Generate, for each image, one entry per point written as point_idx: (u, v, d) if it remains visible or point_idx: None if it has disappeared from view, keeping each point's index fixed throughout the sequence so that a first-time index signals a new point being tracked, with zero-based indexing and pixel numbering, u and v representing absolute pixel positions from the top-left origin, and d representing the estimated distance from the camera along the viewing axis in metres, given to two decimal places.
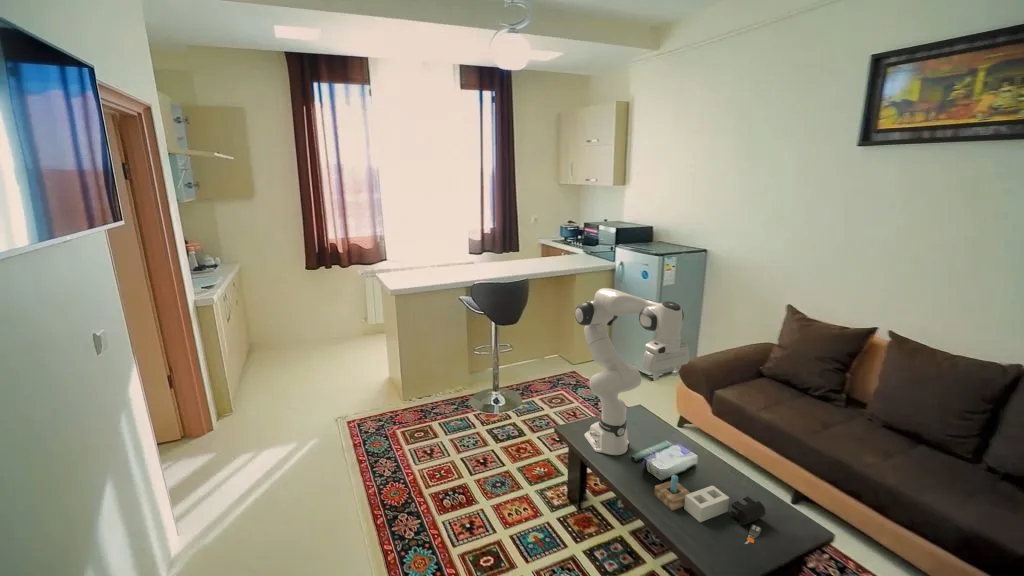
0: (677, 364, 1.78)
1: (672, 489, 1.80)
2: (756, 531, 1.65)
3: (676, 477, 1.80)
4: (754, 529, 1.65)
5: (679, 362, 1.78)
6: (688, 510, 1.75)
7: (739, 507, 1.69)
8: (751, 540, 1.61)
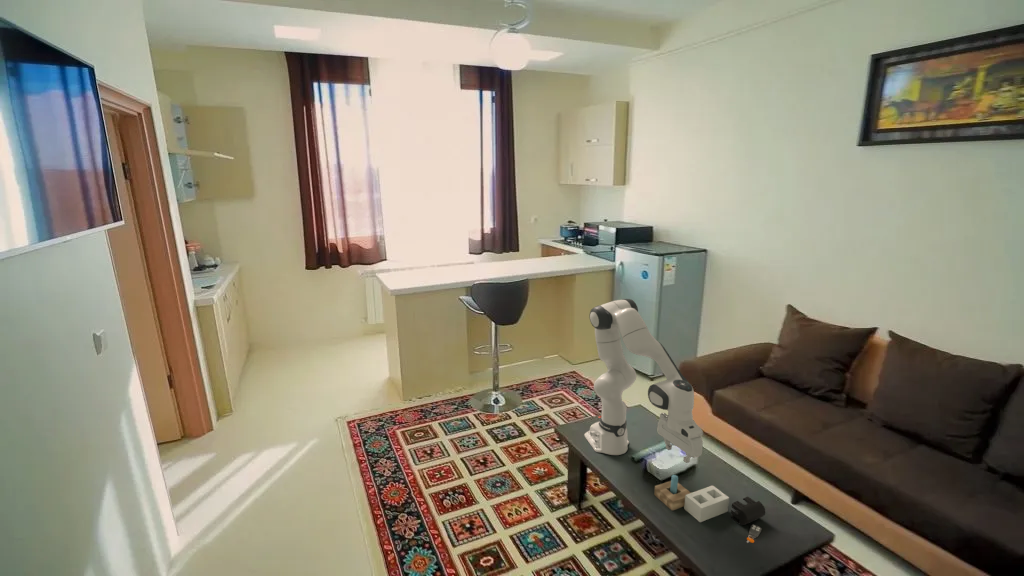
0: None
1: (672, 489, 1.80)
2: (756, 531, 1.65)
3: (676, 477, 1.80)
4: (754, 529, 1.66)
5: None
6: (688, 510, 1.75)
7: (739, 507, 1.69)
8: (751, 540, 1.61)
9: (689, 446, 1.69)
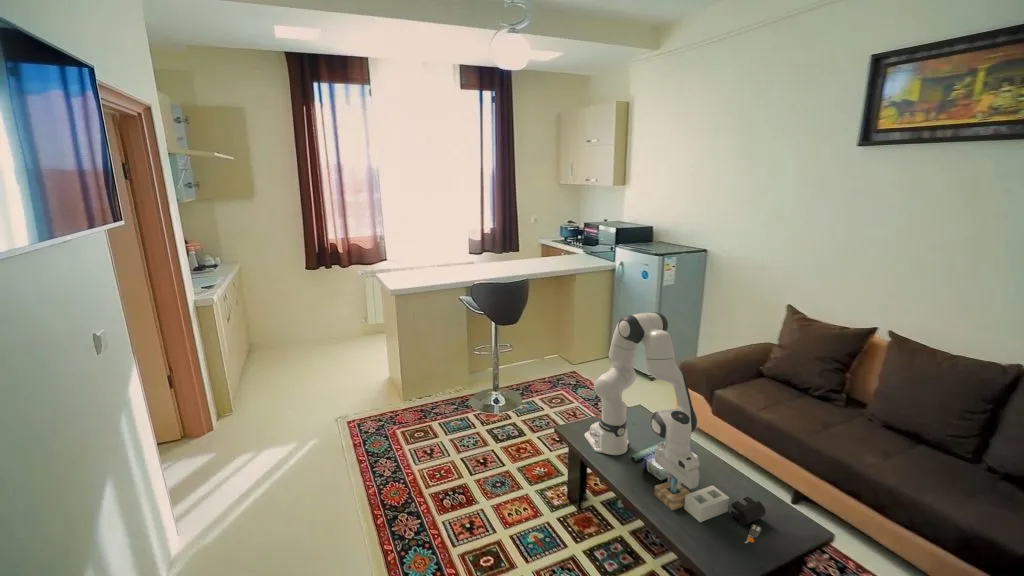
0: None
1: (672, 489, 1.80)
2: (756, 531, 1.65)
3: None
4: (754, 529, 1.66)
5: None
6: (688, 510, 1.75)
7: (739, 507, 1.69)
8: (751, 540, 1.61)
9: (686, 477, 1.72)
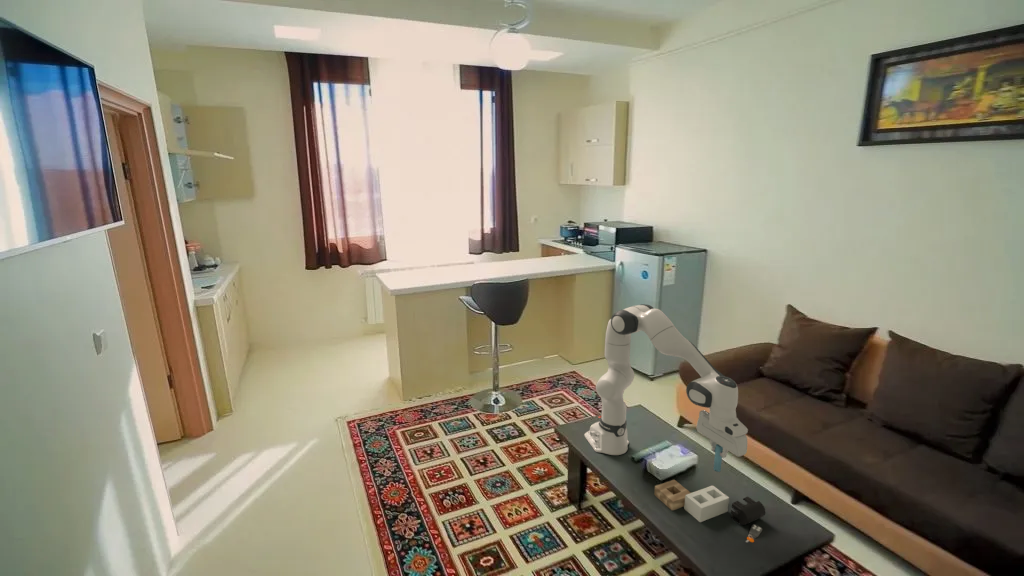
0: None
1: (717, 459, 1.72)
2: (757, 531, 1.65)
3: None
4: (755, 529, 1.66)
5: None
6: (688, 510, 1.75)
7: (739, 507, 1.69)
8: (751, 539, 1.62)
9: (733, 444, 1.63)
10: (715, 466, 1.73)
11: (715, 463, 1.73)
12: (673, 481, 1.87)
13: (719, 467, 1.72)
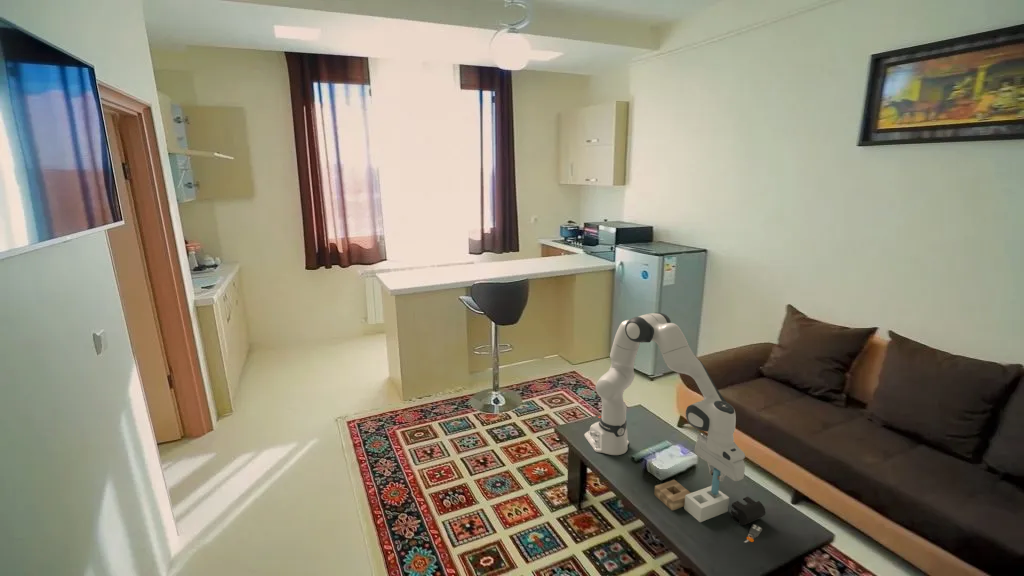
0: None
1: (714, 482, 1.74)
2: (756, 531, 1.65)
3: None
4: (755, 529, 1.66)
5: None
6: (688, 510, 1.75)
7: (739, 507, 1.69)
8: (751, 539, 1.62)
9: (731, 469, 1.66)
10: (713, 489, 1.75)
11: (713, 486, 1.75)
12: (673, 481, 1.87)
13: (717, 490, 1.75)
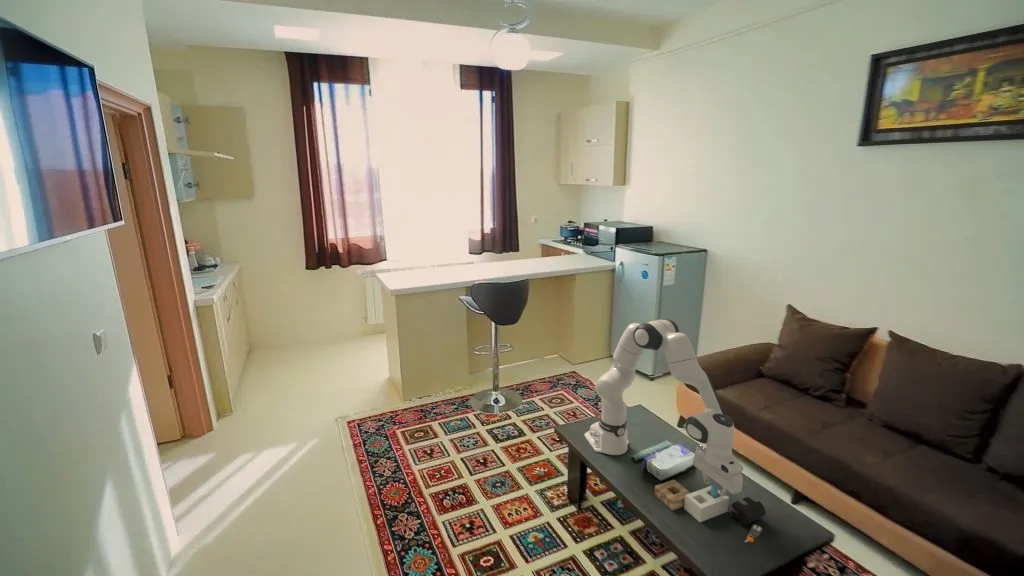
0: None
1: None
2: (757, 531, 1.65)
3: (717, 485, 1.75)
4: (755, 529, 1.66)
5: None
6: (688, 510, 1.75)
7: (739, 507, 1.69)
8: (751, 539, 1.62)
9: (729, 482, 1.67)
10: None
11: None
12: (673, 481, 1.87)
13: None
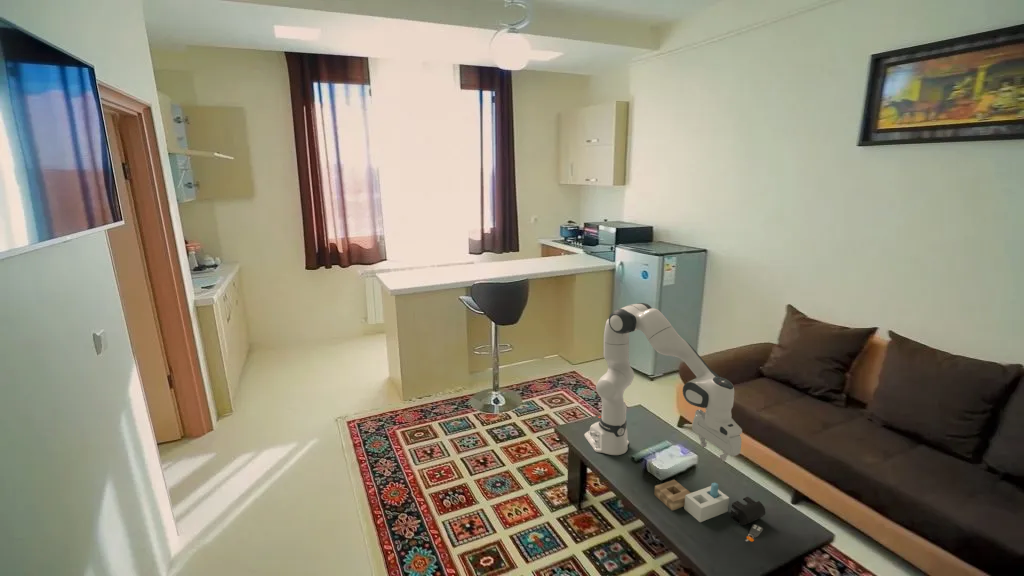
0: None
1: None
2: (757, 530, 1.65)
3: (717, 485, 1.75)
4: (755, 528, 1.66)
5: None
6: (688, 510, 1.75)
7: (739, 507, 1.69)
8: (750, 539, 1.62)
9: (727, 444, 1.66)
10: None
11: None
12: (673, 481, 1.87)
13: None
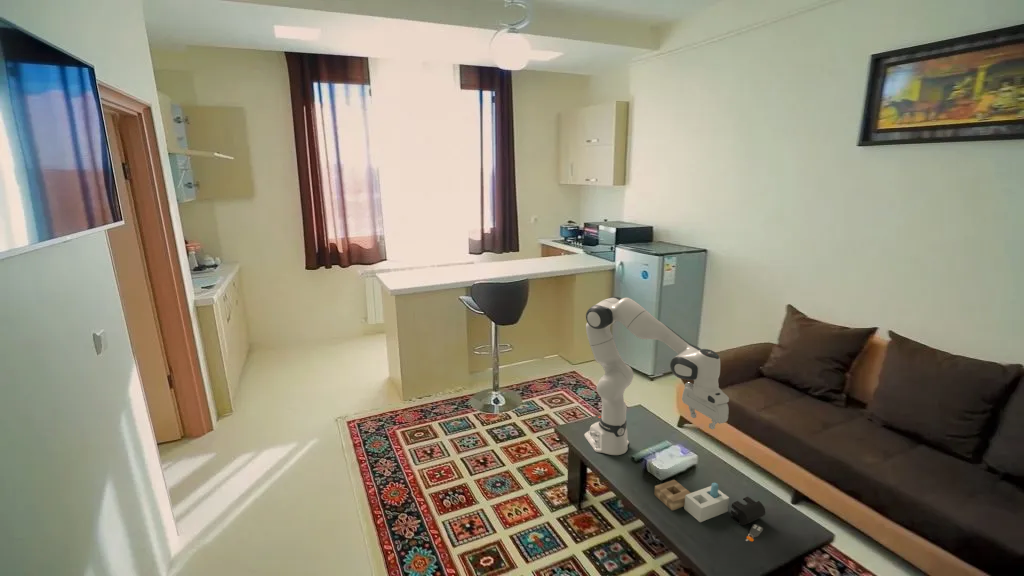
0: None
1: None
2: (757, 530, 1.65)
3: (717, 485, 1.75)
4: (755, 528, 1.66)
5: None
6: (688, 510, 1.75)
7: (739, 507, 1.69)
8: (750, 539, 1.62)
9: (715, 412, 1.74)
10: None
11: None
12: (673, 481, 1.87)
13: None
